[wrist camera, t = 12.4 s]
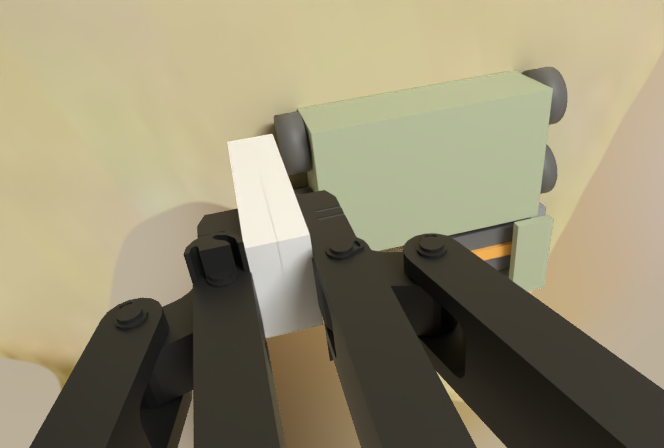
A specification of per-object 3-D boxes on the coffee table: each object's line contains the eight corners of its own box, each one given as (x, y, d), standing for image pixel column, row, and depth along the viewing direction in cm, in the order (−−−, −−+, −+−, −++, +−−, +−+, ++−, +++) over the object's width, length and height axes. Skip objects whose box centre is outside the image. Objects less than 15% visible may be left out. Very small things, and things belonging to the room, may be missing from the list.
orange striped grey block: (432, 253, 55) (453, 283, 51) (432, 212, 53) (454, 240, 48) (501, 237, 56) (529, 265, 52) (505, 197, 54) (534, 222, 49)
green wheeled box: (303, 296, 54) (316, 342, 49) (271, 107, 44) (283, 137, 38) (518, 247, 58) (555, 284, 52) (537, 60, 47) (586, 81, 41)
